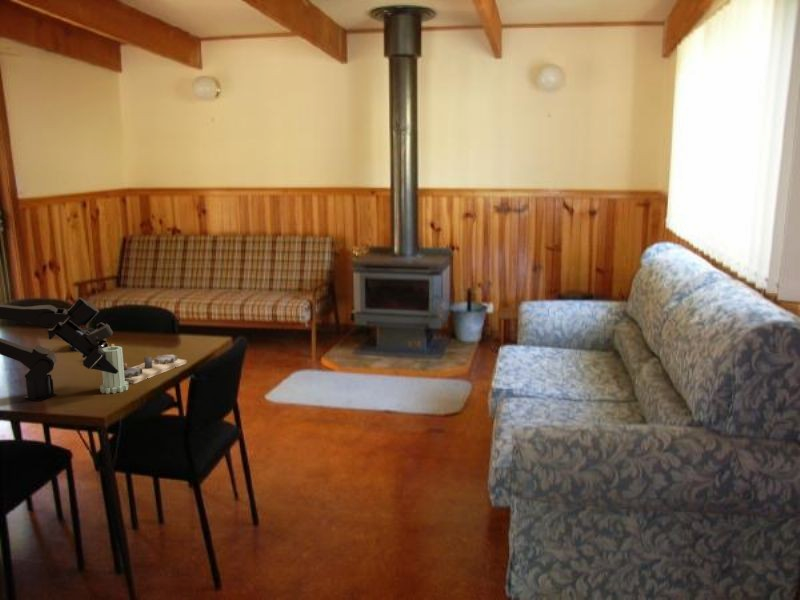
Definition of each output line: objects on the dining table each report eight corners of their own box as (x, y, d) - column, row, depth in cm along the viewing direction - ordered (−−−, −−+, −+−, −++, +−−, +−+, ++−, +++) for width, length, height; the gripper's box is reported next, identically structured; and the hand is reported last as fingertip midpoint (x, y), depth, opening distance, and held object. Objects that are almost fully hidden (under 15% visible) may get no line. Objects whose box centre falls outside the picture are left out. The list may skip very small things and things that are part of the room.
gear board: (134, 383, 214) (132, 369, 213) (107, 379, 218) (106, 365, 217) (186, 363, 237) (185, 350, 236) (162, 359, 241) (161, 347, 240)
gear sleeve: (114, 394, 204) (111, 353, 201) (94, 391, 207) (90, 350, 204) (134, 387, 211) (131, 346, 209) (114, 383, 214) (111, 344, 212)
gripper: (91, 323, 194) (135, 356, 200) (96, 310, 212) (136, 341, 217) (64, 352, 193) (109, 384, 199) (71, 337, 210) (112, 367, 216)
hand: (117, 368), depth 208 cm, fingers open, 9 cm apart
